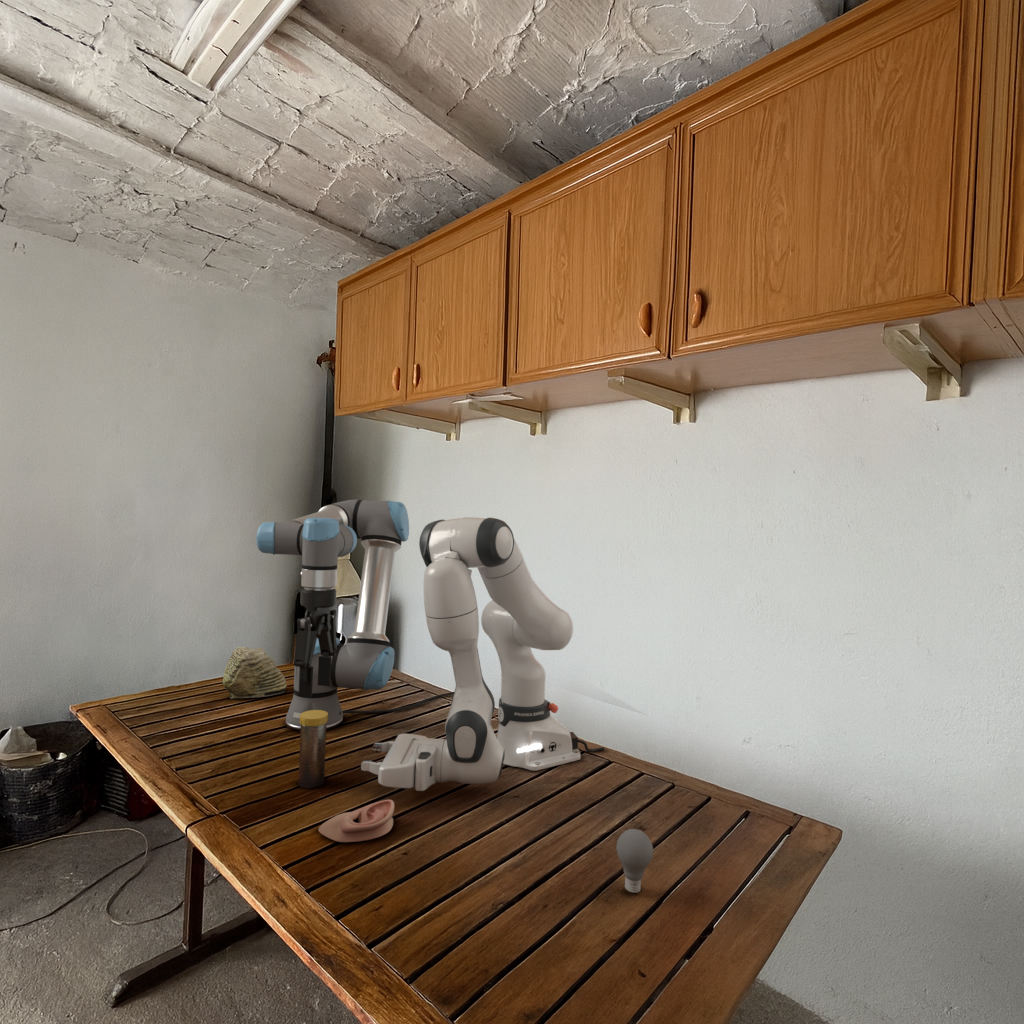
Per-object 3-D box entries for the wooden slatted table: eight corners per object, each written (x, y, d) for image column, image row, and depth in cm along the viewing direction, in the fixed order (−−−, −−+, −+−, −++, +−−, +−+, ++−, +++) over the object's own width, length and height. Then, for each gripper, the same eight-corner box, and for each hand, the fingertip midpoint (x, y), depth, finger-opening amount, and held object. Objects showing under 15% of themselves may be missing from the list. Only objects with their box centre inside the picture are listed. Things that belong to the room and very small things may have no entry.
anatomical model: (310, 816, 117) (339, 789, 129) (309, 837, 117) (338, 808, 129) (377, 827, 115) (401, 798, 126) (376, 848, 115) (400, 818, 126)
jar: (306, 776, 143) (308, 711, 143) (328, 779, 142) (331, 713, 142) (293, 786, 138) (296, 719, 138) (316, 789, 137) (319, 721, 137)
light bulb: (610, 879, 108) (613, 822, 108) (644, 879, 109) (647, 822, 109) (619, 902, 102) (622, 840, 102) (655, 901, 103) (658, 840, 103)
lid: (308, 715, 143) (308, 708, 143) (332, 718, 142) (333, 711, 142) (294, 724, 137) (294, 717, 137) (319, 727, 136) (320, 720, 136)
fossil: (218, 695, 195) (220, 647, 195) (278, 685, 208) (279, 640, 207) (228, 703, 189) (230, 653, 188) (289, 692, 201) (290, 645, 201)
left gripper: (324, 581, 150) (321, 676, 150) (277, 593, 130) (273, 703, 130) (354, 583, 149) (350, 679, 149) (311, 595, 128) (307, 707, 129)
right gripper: (438, 728, 149) (379, 725, 150) (422, 764, 129) (355, 760, 129) (436, 755, 149) (378, 751, 150) (421, 795, 129) (354, 791, 129)
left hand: (314, 690), depth 140 cm, fingers open, 8 cm apart
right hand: (367, 756), depth 139 cm, fingers open, 8 cm apart
